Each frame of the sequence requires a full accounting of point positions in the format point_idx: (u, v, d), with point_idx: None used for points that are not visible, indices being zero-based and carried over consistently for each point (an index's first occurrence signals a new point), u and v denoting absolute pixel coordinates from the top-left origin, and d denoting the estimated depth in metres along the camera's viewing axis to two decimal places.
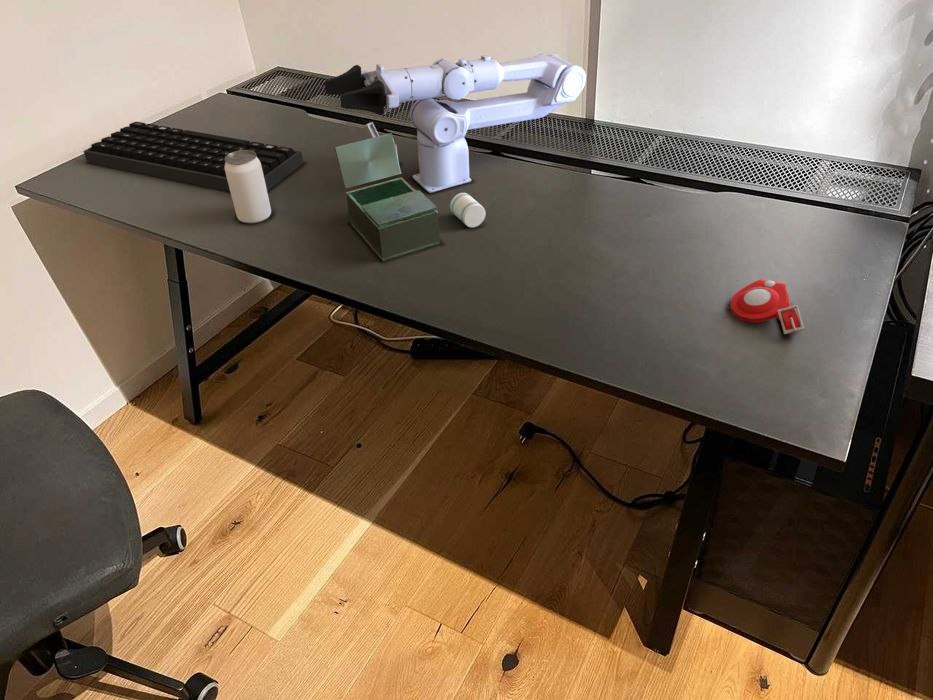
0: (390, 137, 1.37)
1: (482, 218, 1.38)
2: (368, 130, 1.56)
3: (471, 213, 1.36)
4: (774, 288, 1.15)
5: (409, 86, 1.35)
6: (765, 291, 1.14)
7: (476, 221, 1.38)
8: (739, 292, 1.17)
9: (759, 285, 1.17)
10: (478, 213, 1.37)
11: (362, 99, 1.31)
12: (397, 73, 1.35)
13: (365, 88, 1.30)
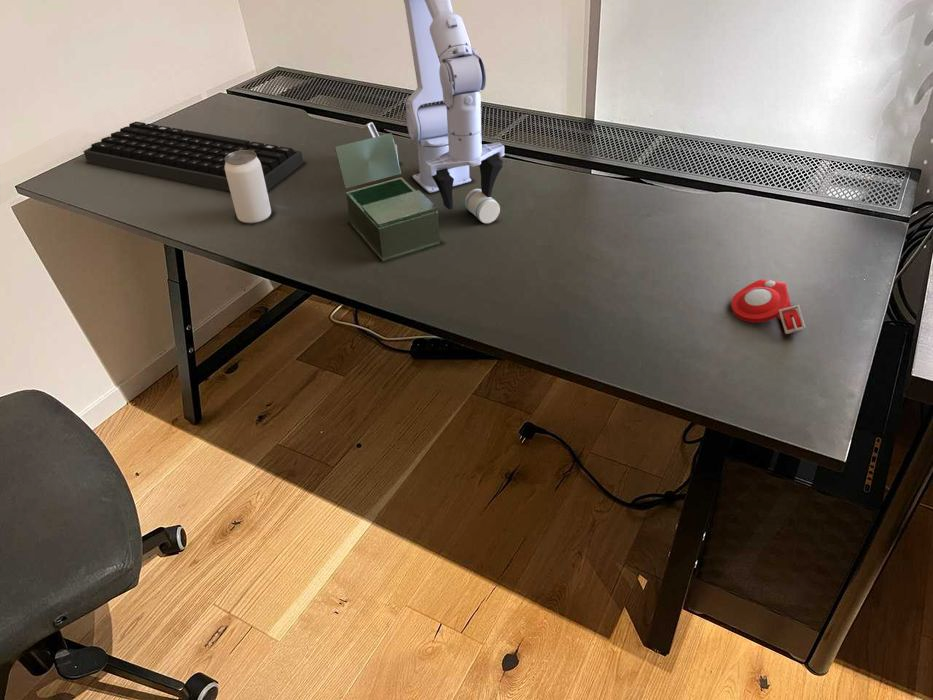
0: (390, 137, 1.37)
1: (487, 221, 1.39)
2: (368, 130, 1.56)
3: (492, 207, 1.38)
4: (775, 288, 1.15)
5: None
6: (766, 291, 1.14)
7: (485, 215, 1.38)
8: (740, 292, 1.17)
9: (759, 285, 1.17)
10: (492, 215, 1.39)
11: None
12: (477, 143, 1.29)
13: (493, 177, 1.35)
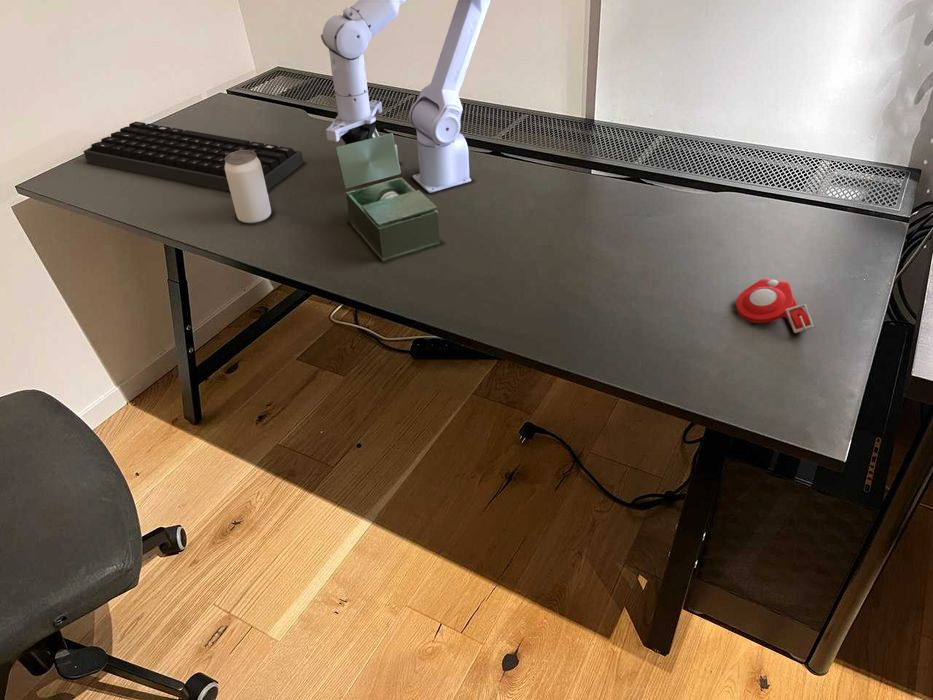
0: (391, 137, 1.37)
1: None
2: None
3: None
4: (778, 287, 1.15)
5: None
6: (770, 291, 1.14)
7: None
8: (743, 293, 1.17)
9: (762, 285, 1.17)
10: None
11: None
12: (368, 101, 1.33)
13: None
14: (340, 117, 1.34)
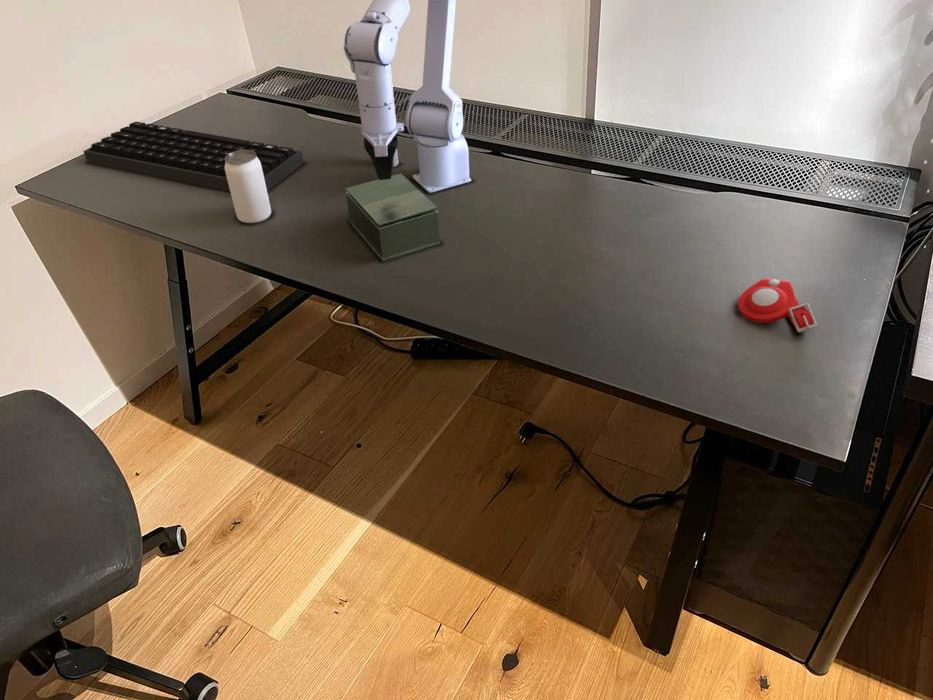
0: (414, 190, 1.35)
1: None
2: None
3: None
4: (780, 287, 1.15)
5: None
6: (772, 290, 1.14)
7: None
8: (745, 293, 1.17)
9: (764, 284, 1.17)
10: None
11: None
12: None
13: None
14: (372, 131, 1.24)
